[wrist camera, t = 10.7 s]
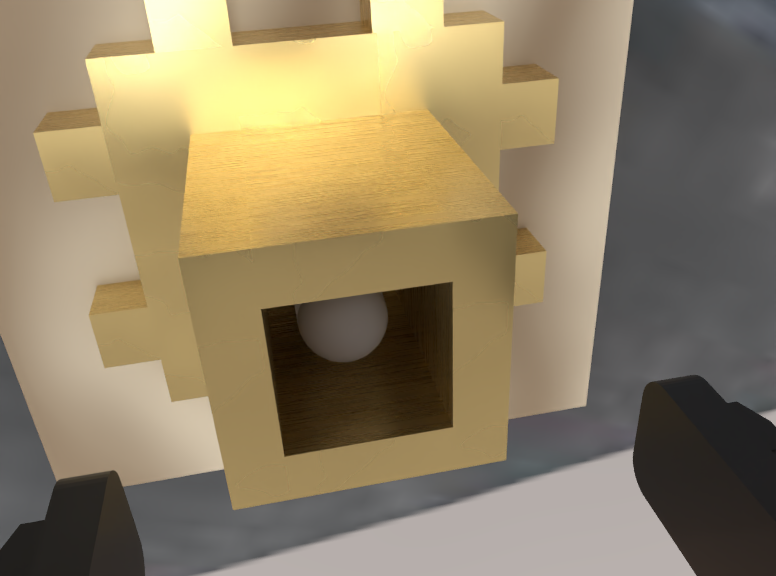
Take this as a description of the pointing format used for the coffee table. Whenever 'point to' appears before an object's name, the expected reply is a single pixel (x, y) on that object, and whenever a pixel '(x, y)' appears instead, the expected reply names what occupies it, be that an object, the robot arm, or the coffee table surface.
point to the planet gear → (315, 230)
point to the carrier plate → (106, 254)
